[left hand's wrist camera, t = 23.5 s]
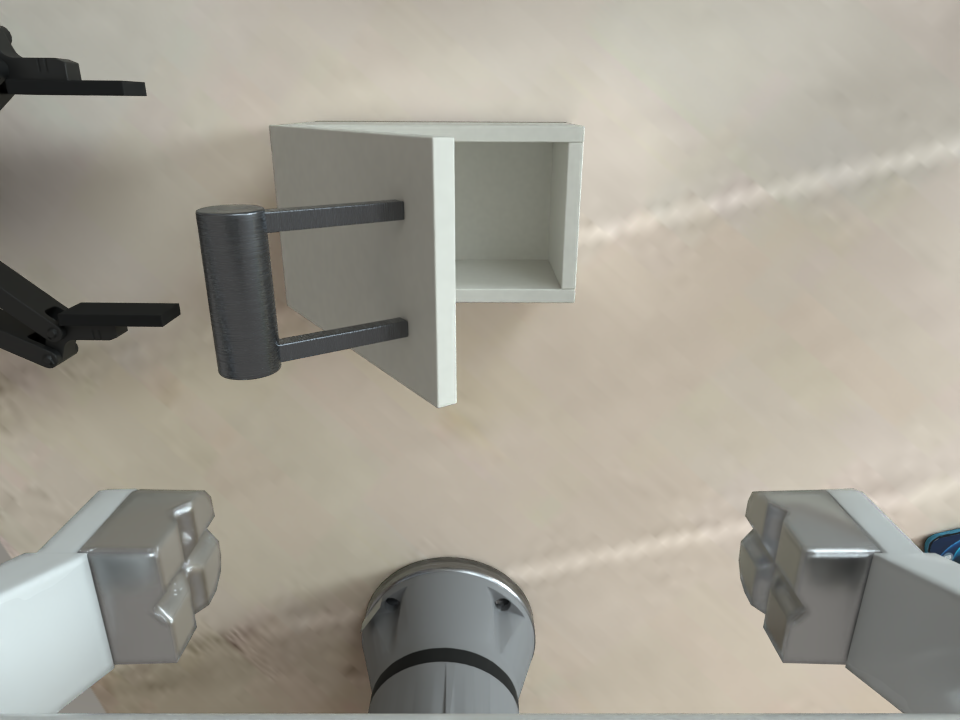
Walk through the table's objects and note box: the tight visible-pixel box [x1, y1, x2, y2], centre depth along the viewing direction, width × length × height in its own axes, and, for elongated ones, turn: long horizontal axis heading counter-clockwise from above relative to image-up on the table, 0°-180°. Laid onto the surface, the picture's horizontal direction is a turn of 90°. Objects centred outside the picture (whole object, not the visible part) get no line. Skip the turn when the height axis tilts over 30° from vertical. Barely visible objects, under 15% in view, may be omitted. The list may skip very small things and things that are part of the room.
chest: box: [283, 121, 585, 303], centre depth 43 cm, size 17×10×9 cm, turn 90°
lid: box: [196, 125, 457, 408], centre depth 30 cm, size 18×10×8 cm
